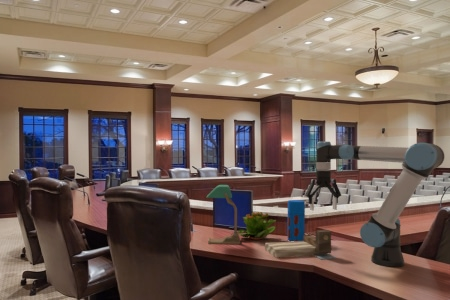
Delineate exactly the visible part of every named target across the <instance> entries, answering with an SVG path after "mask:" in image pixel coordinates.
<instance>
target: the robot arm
mask: <svg viewBox="0 0 450 300" xmlns="http://www.w3.org/2000/svg"><path fill="white" fill-rule="evenodd" d="M315 147H316V148H315V151H316V152H315V153H316V154H315V155H316V157H315V159H316V164H315V165H316V166H315V169H316V171H315V176H316V177H315V178H316V179H314V178H313V179H312V178H311V179H310V184H309V185H308V187H307V191H305V194H304V195H305V197H307V198H308V204H309V210H311V211H314V210H315V209H314V208H315V205H314V204H315V198H314V196H315V195H316V193H317V192H318V190H319V189H321V188H322V189H324V188H327V190H328V191H330V193H331V195H332V196H333V197H332V210H334V211H335V210H337V207H338V206H337V205H338V203H339V198H340V197H341V196H342V193H341V191H340V188H339V186H338V184H337V180H336V179H335V178H331V176H332V175H331V174H332V173H331V170H332V167H331V166H332V165H331V164H332V163H331V162H332V160H344V161H347V160H353V161H354V160H355V161H372V162H387V163H402V164H401V168H402V171H401V173H400V174H399V176H398V178H397V179H396V181H395V182H394V184H393V186H392V187H391V190H390V191H389V193H388V194H387V195H386V197H385V199H384V200H383V202H382V204H381V206H380V208H379V209H378V210H377V212H374V213H372V214H371V216H370V218H369V219H368V221H367V222H365V223H363V224H362V225H361V227H360V230H359V234H360V238H361V241H362V242H363V243H364V244H365V245H367V246H368V247H370V248H373V249H372V250H373V251H372V253H371V254H372V255H371V256H370V257H371V258H370V259H371V262H372V263H373V264H376V265H379V266H384V267H393V268H395V267H397V268H398V267H403V266H405V258H404V255H403V252H402V250H401V225H402V224H401V220H400V218H399V217H400V215H401V214H402V212H403V211H404V210H405V208H406V206H407V204H408V203H409V201H410V199H411V198H412V196H413V195H414V193H415V191H416V190H417V188H418V187H419V185H420V184H421V182H422V180H425V179H428V178H429V176H430V175H431V173H432V172H433V170H434V169H436V168H439V167H440V166H441V165H442V164H443V163H444V161H445V152H444V150H443V149H442V148H441V147H440V146H439V145H437V144H435V143H427V142H417V143H414V144H412V145H410V146H409V147H401V146H396V147H395V146H371V145H370V146H368V145H365V146H364V145H351V144H331V142H330V141H317V142H316V146H315Z"/></svg>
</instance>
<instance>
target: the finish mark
mask: <svg viewBox="0 0 450 300" xmlns="http://www.w3.org/2000/svg"><path fill="white" fill-rule="evenodd" d="M313 256H314V257H315V256H316V257H315V258H318V259H319V260H332V259H335V260H336V259H337V257H336V256H334V255H332V254H331V253H328V254H320V255H313Z"/></svg>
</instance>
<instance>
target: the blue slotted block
mask: <svg viewBox="0 0 450 300" xmlns="http://www.w3.org/2000/svg"><path fill="white" fill-rule="evenodd" d="M305 204H306V203H305V200H301V199H300V200H299V199H290V200H289V199H288V201H287V241H288V240H289V241H288V242H291V241H303V235H306V233H305V230H306V227H305V224H306V222H305V221H306V215H305V214H306V213H305V212H306V210H305V209H306V205H305Z"/></svg>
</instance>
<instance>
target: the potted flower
mask: <svg viewBox="0 0 450 300" xmlns="http://www.w3.org/2000/svg"><path fill="white" fill-rule="evenodd" d="M267 217H269V213H265V214H264V213H263V212H252V213H251V214H250V213H248V214H246V215H245V216H242V219H243V223H244V224H245V228H246V230H244V229H239V230H237V232H238V235H239V236H241V237H242V238H248V239H250V240H256V241H257V240H258V241H259V240H264V239H265V237H267V236H269V235H270V234H271V233H272V232H275V229H276V226H274V225H273V226H271V225H272V224H273V223H276V219H272V218H271V219H269V220H268V221H267Z"/></svg>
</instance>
